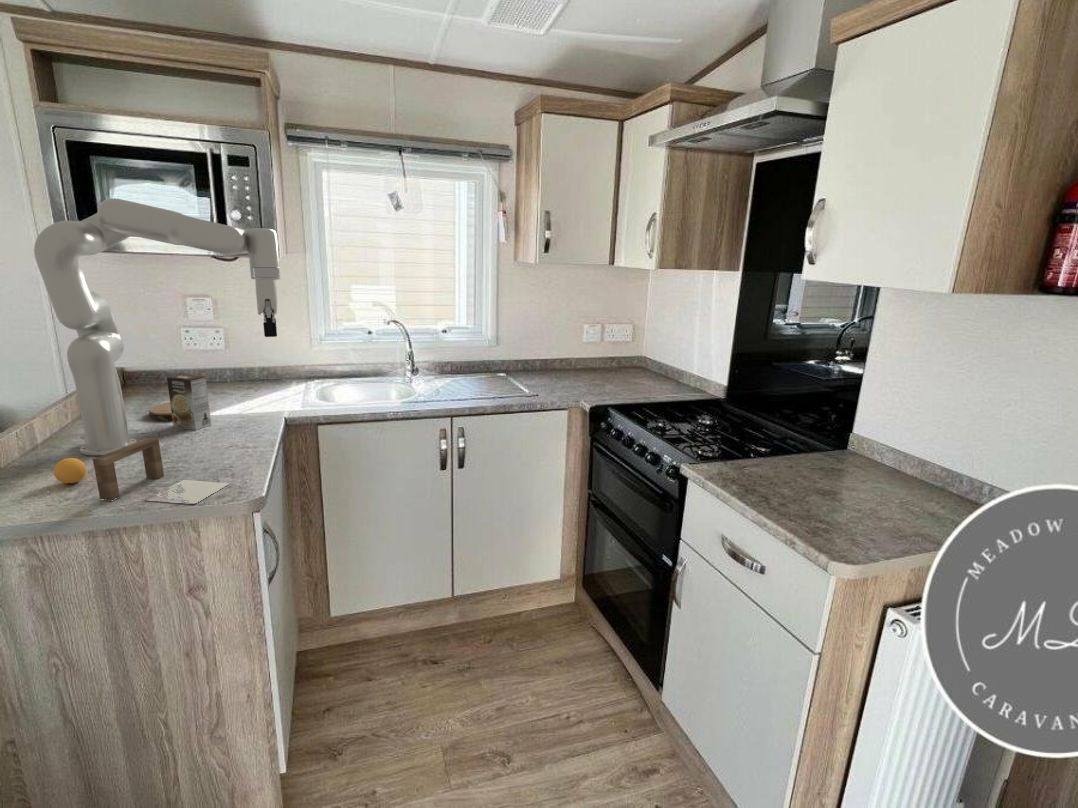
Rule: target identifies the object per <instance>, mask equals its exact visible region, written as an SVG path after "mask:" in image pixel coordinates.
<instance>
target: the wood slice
mask: <svg viewBox="0 0 1078 808" xmlns="http://www.w3.org/2000/svg"><path fill="white" fill-rule="evenodd" d="M148 416H149V419H150V420H152V421H157V422H173V419H172V412H171V405H170V401H169V402H165V403H160V404H156V405H153V406H151V407H150V408H149V409H148Z"/></svg>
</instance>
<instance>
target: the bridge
mask: <svg viewBox="0 0 1078 808" xmlns="http://www.w3.org/2000/svg"><path fill="white" fill-rule="evenodd" d="M159 440H160V439H159V438H155V437H153V438H152V437H145V438H143V439H141V440H137V442H135V443H133V444H130V445H128V446H125V447H123V448H120V449H118V450H115V451H112V452H110V453H107V454H105V455H99V456H96V457H95V458H92V464H93V469H94V474H95V478H96V484H97V490H98V495H99V500H100V499H104V500H105V499H106V500H114V499H115V498H118V497H120V498H121V495H120V489H119V484H118V478H117V472H116V467H115V462H118V461H120V460H122V459H124V458H128V457H130V456H132V455H135V454H137V453H139V452H142V458H143V459H142V460H143V464H144V465H143V466H144V471H145V476H146V479H148V478H154V479H153V480H159V479H161V478H160V477H162V478H164V477H165V475H164V467H163V460H162V453H161V446H160V441H159ZM163 476H164V477H163Z"/></svg>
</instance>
